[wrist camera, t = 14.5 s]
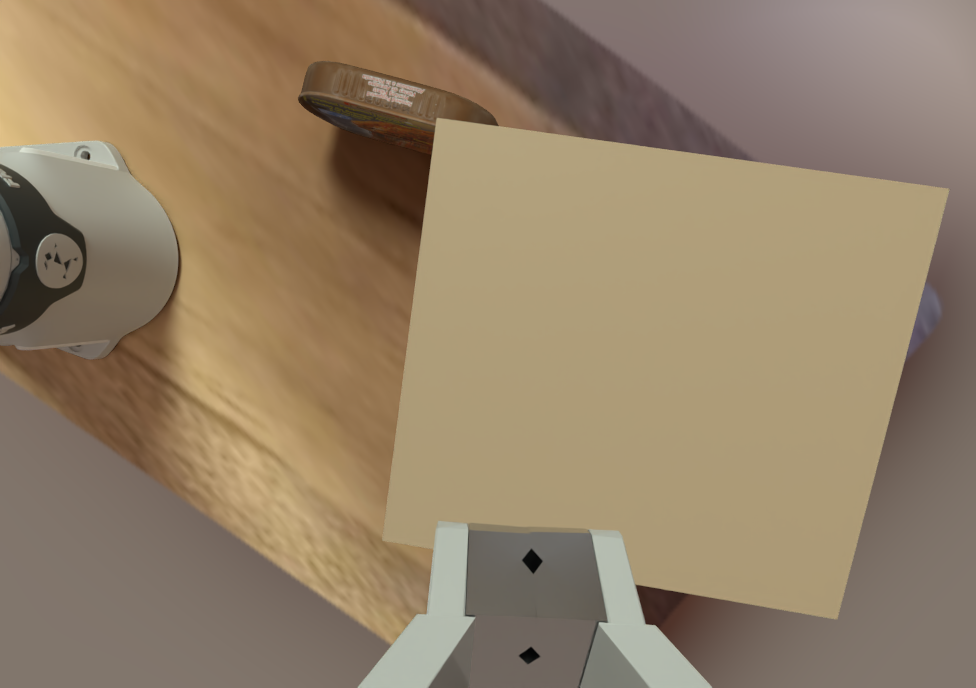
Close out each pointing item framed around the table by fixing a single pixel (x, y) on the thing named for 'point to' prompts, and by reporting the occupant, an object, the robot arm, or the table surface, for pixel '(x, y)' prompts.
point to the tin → (383, 105)
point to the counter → (657, 355)
